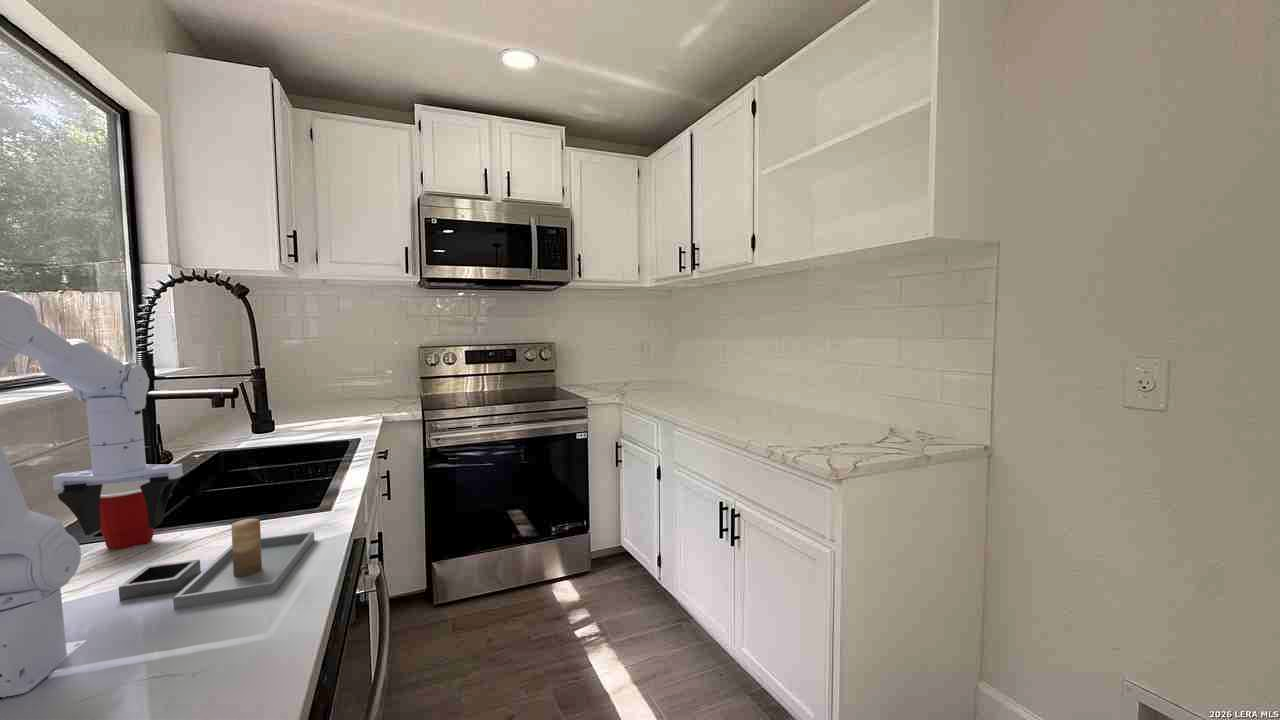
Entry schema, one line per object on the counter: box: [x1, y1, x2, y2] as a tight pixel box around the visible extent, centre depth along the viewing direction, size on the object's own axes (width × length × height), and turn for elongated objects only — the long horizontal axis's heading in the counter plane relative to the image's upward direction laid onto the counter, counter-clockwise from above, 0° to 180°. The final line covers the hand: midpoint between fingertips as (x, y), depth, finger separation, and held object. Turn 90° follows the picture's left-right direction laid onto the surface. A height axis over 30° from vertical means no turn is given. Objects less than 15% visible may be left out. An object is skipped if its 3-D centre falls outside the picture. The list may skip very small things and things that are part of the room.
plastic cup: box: [99, 476, 155, 550], centre depth 94 cm, size 11×11×12 cm
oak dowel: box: [230, 518, 262, 577], centre depth 81 cm, size 4×4×8 cm
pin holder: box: [118, 559, 201, 602], centre depth 78 cm, size 7×7×3 cm
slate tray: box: [172, 531, 315, 610], centre depth 82 cm, size 20×12×2 cm, turn 18°
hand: (124, 528), depth 77 cm, fingers open, 7 cm apart
